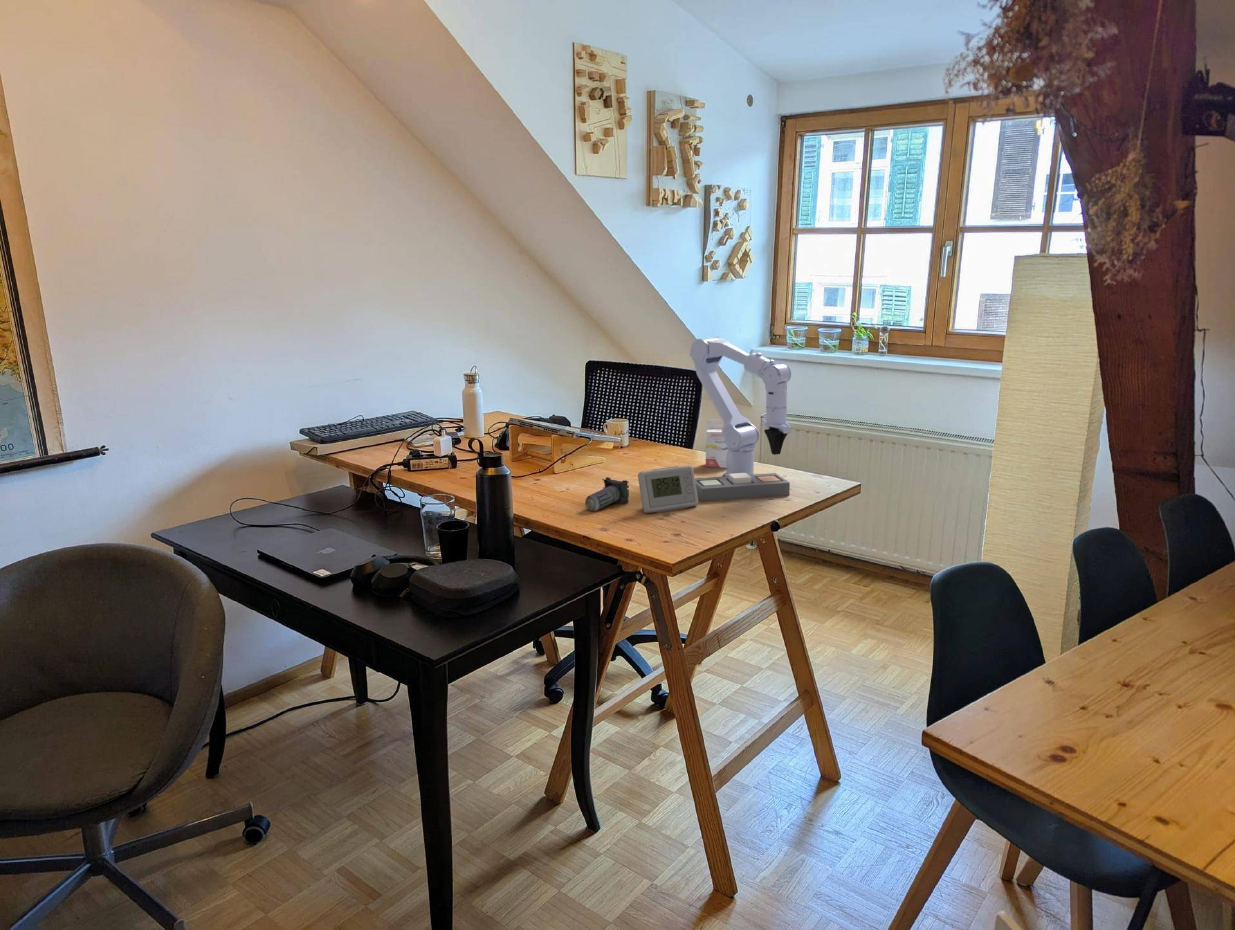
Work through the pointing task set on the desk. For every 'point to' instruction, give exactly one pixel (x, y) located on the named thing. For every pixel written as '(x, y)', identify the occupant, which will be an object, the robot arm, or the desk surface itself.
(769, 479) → the terracotta key
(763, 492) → the panel
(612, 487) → the ribbed flanged cylinder
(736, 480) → the cream key
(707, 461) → the ink cartridge box
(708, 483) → the sage key
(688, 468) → the digital clock
